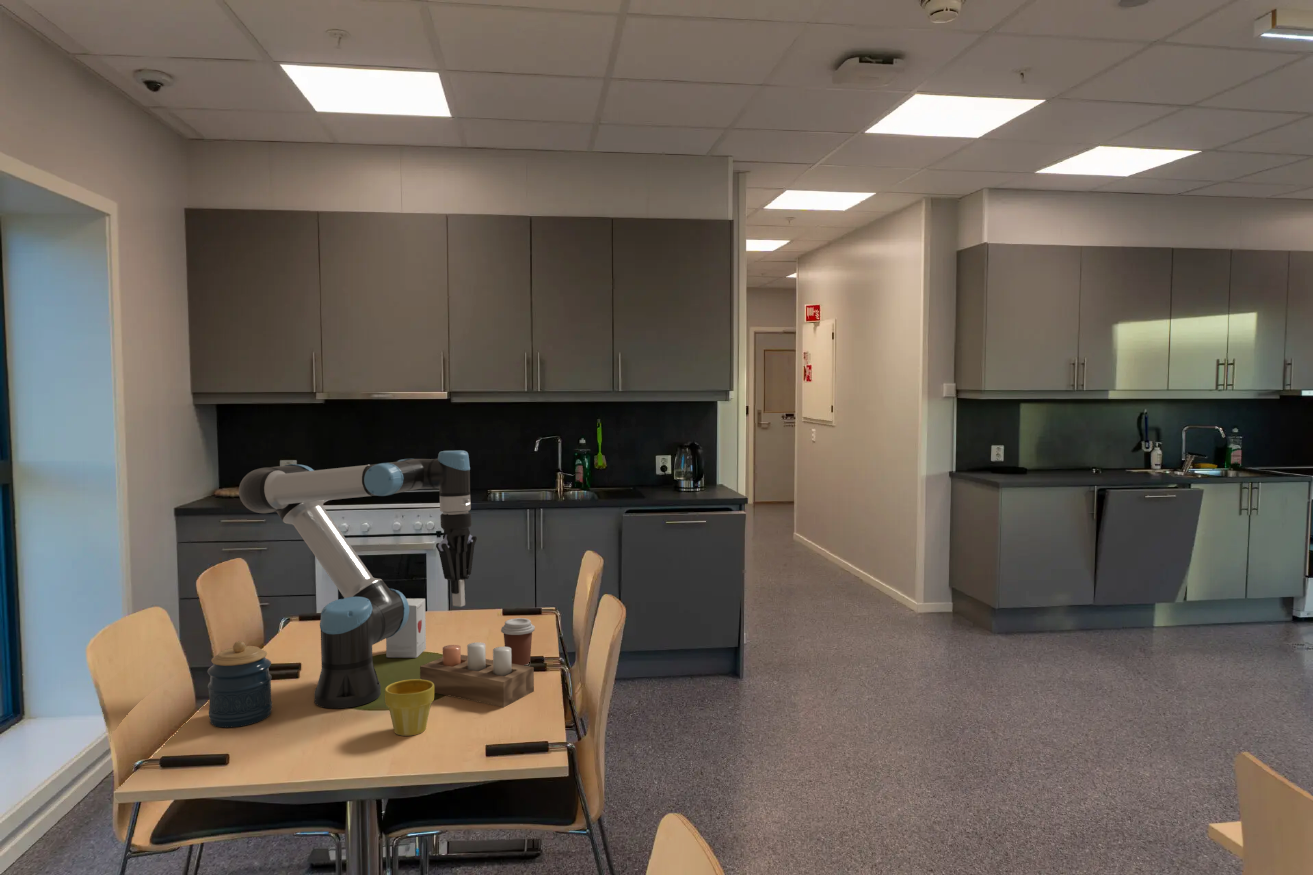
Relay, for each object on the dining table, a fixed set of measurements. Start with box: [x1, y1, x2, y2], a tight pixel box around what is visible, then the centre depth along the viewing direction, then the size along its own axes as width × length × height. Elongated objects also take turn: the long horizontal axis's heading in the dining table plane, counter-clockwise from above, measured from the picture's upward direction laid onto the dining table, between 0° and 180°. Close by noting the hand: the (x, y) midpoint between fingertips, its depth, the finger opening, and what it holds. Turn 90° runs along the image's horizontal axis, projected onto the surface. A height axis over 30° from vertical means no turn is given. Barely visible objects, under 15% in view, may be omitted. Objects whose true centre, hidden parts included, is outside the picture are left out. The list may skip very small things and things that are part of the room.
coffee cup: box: [500, 617, 536, 666], centre depth 223 cm, size 9×9×12 cm
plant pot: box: [384, 678, 435, 737], centre depth 179 cm, size 10×10×10 cm
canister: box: [206, 640, 273, 728], centre depth 186 cm, size 13×13×18 cm
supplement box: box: [385, 598, 427, 659], centre depth 234 cm, size 9×9×15 cm
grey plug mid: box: [466, 641, 487, 671], centre depth 203 cm, size 4×4×7 cm
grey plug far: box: [492, 646, 512, 676], centre depth 200 cm, size 4×4×7 cm
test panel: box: [419, 654, 535, 708], centre depth 203 cm, size 12×26×6 cm, turn 63°
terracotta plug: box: [442, 644, 462, 667], centre depth 207 cm, size 4×4×7 cm
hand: (458, 605), depth 205 cm, fingers closed
